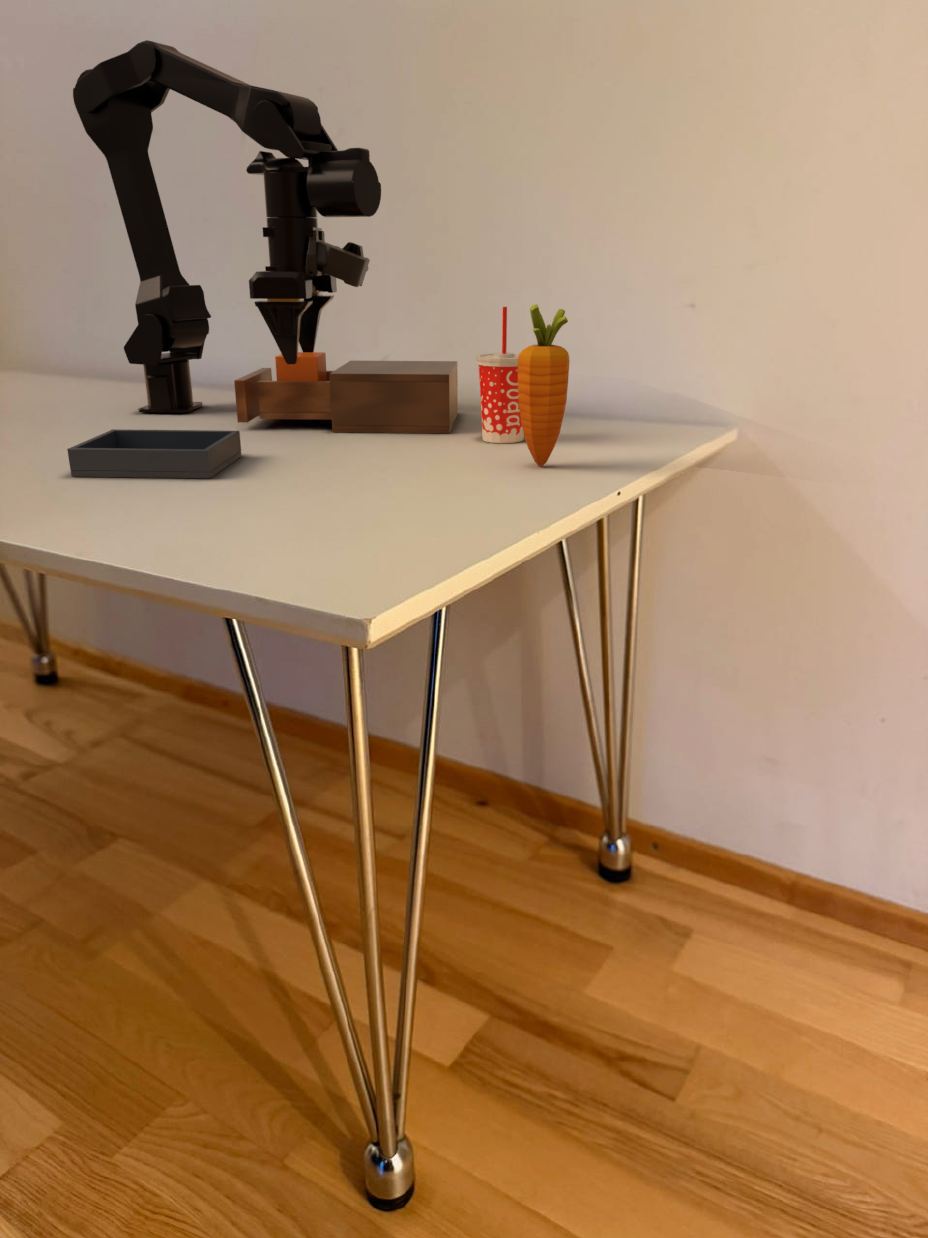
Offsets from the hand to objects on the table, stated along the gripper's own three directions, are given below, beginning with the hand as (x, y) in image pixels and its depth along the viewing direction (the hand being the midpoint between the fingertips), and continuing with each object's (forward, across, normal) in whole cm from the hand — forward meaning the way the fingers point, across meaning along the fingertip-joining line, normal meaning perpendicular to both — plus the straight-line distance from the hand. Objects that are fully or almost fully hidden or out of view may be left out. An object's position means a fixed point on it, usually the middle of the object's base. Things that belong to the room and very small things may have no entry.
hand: (300, 359), depth 114 cm
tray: (+7, -26, +8) cm, 28 cm away
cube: (+5, 0, 0) cm, 5 cm away
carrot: (+8, -24, -29) cm, 38 cm away
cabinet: (+7, 0, -12) cm, 14 cm away
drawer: (+7, 0, +1) cm, 7 cm away
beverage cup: (+8, -10, -25) cm, 28 cm away
